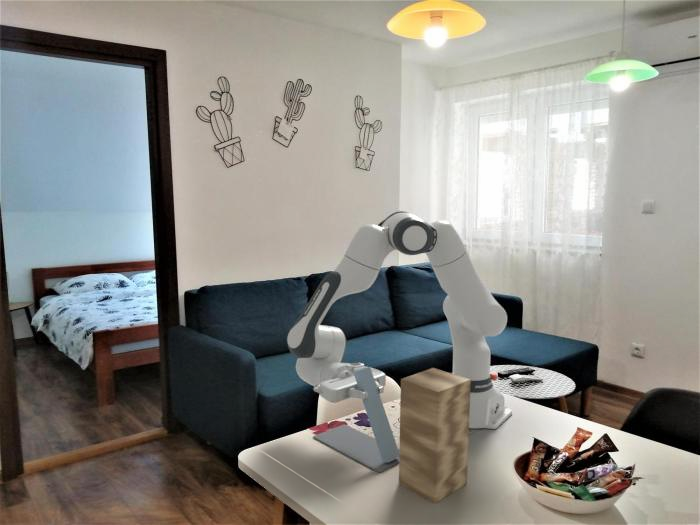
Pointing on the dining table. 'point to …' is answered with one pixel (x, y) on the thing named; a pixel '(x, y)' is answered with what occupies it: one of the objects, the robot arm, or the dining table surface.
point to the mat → (356, 446)
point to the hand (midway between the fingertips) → (374, 393)
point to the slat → (377, 415)
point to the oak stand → (434, 433)
